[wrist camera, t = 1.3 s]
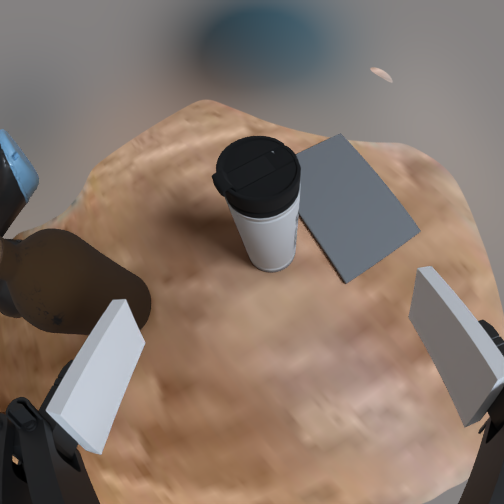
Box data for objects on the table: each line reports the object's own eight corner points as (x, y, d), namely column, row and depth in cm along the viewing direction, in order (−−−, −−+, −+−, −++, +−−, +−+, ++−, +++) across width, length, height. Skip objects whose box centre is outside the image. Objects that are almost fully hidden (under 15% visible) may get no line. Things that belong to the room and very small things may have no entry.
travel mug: (237, 245, 40) (196, 156, 21) (278, 220, 40) (270, 117, 21) (261, 283, 38) (237, 218, 19) (304, 256, 38) (320, 170, 19)
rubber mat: (267, 171, 43) (267, 169, 42) (340, 135, 44) (340, 133, 43) (345, 284, 36) (346, 283, 36) (419, 232, 37) (420, 230, 36)
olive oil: (168, 287, 39) (37, 208, 15) (137, 354, 36) (-15, 344, 13) (113, 258, 41) (-9, 179, 18) (86, 319, 39) (-50, 280, 15)
